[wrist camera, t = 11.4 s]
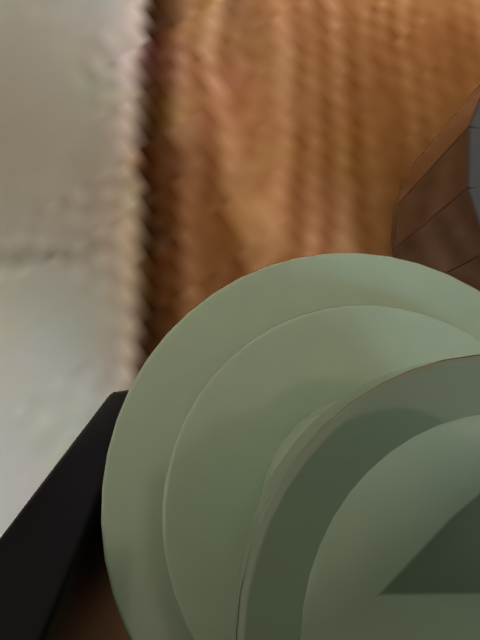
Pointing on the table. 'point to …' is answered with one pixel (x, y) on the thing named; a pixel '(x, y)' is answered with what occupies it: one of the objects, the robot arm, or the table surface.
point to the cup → (444, 201)
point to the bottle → (304, 461)
